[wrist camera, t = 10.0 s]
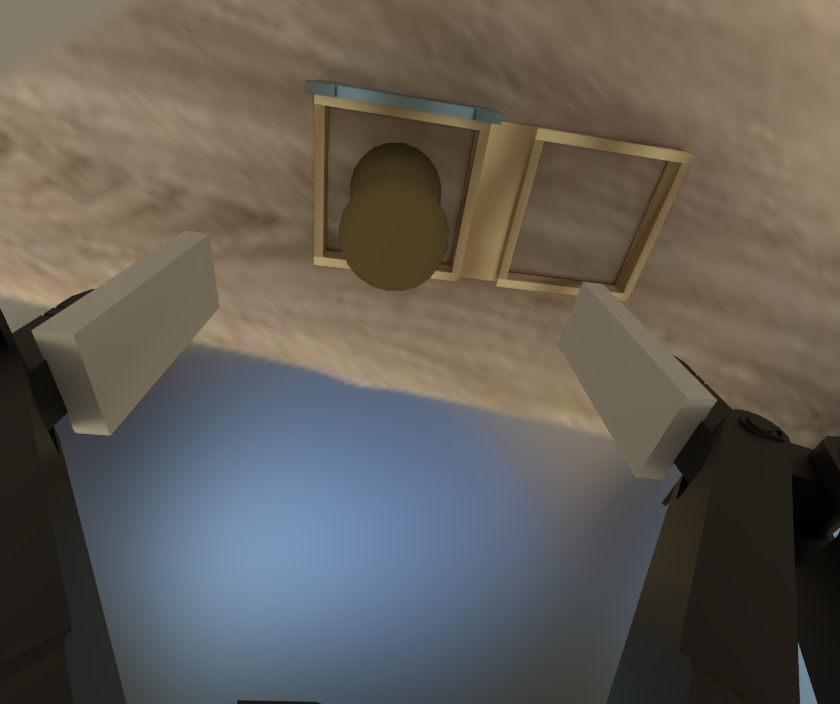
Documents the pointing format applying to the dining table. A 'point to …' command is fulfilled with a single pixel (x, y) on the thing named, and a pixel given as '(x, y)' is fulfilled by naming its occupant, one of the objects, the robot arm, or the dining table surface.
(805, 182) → the dining table surface
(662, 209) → the caddy
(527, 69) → the dining table surface
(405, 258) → the cork
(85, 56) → the dining table surface
